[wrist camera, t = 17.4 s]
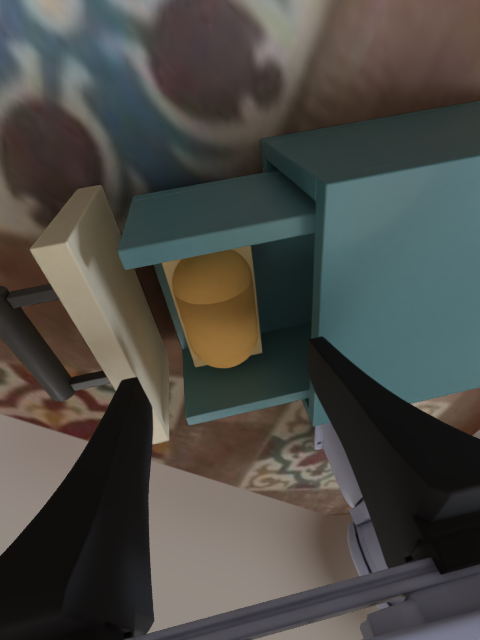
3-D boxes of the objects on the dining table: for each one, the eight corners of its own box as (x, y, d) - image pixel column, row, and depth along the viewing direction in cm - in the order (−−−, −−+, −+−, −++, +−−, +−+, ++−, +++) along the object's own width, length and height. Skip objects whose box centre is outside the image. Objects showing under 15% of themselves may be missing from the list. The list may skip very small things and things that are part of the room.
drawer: (86, 375, 23) (62, 466, 17) (-27, 207, 15) (-134, 280, 10) (339, 320, 24) (387, 389, 19) (359, 138, 16) (453, 168, 11)
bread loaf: (253, 324, 21) (269, 373, 18) (192, 337, 21) (197, 390, 17) (239, 215, 16) (258, 253, 13) (160, 230, 16) (157, 274, 12)
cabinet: (273, 332, 25) (312, 427, 18) (260, 138, 16) (325, 183, 9) (456, 292, 26) (557, 369, 19) (536, 90, 17) (772, 100, 10)
